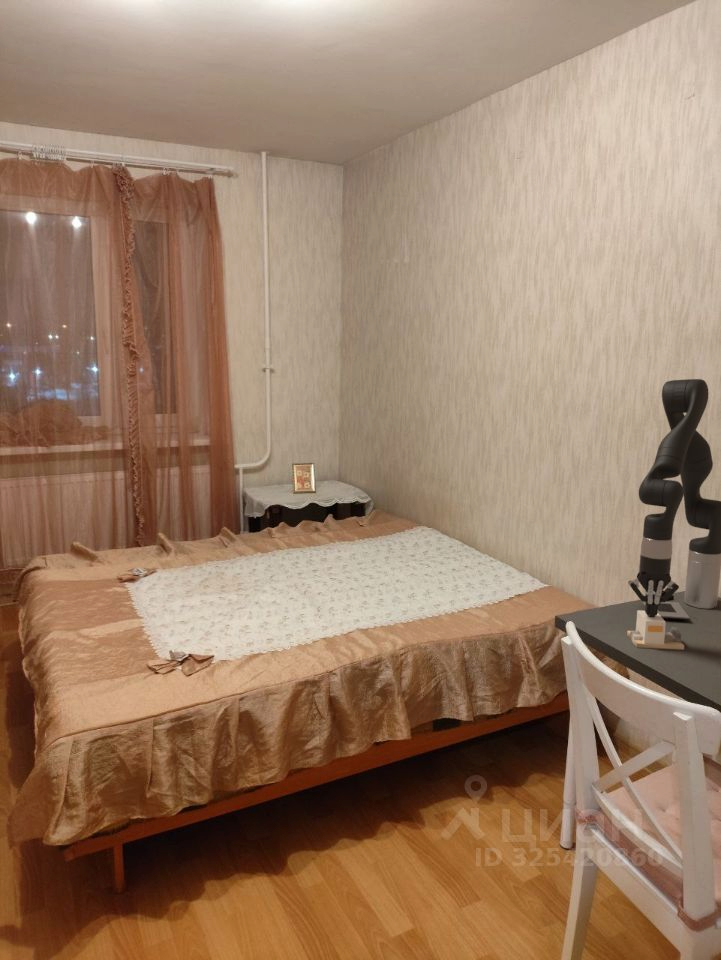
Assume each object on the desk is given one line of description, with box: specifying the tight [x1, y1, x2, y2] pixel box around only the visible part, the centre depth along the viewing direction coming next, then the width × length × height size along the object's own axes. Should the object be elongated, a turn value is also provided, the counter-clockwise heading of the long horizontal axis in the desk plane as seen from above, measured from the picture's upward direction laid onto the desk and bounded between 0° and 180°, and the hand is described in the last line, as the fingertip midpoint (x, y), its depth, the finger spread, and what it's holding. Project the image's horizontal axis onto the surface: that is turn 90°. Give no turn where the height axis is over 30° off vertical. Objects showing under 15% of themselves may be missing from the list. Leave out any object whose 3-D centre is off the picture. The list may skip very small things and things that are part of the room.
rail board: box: [626, 626, 685, 651], centre depth 182 cm, size 9×12×3 cm
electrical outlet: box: [642, 601, 690, 621], centre depth 203 cm, size 13×10×2 cm
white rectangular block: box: [635, 610, 667, 644], centre depth 182 cm, size 8×5×6 cm, turn 173°
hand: (650, 616), depth 182 cm, fingers closed
